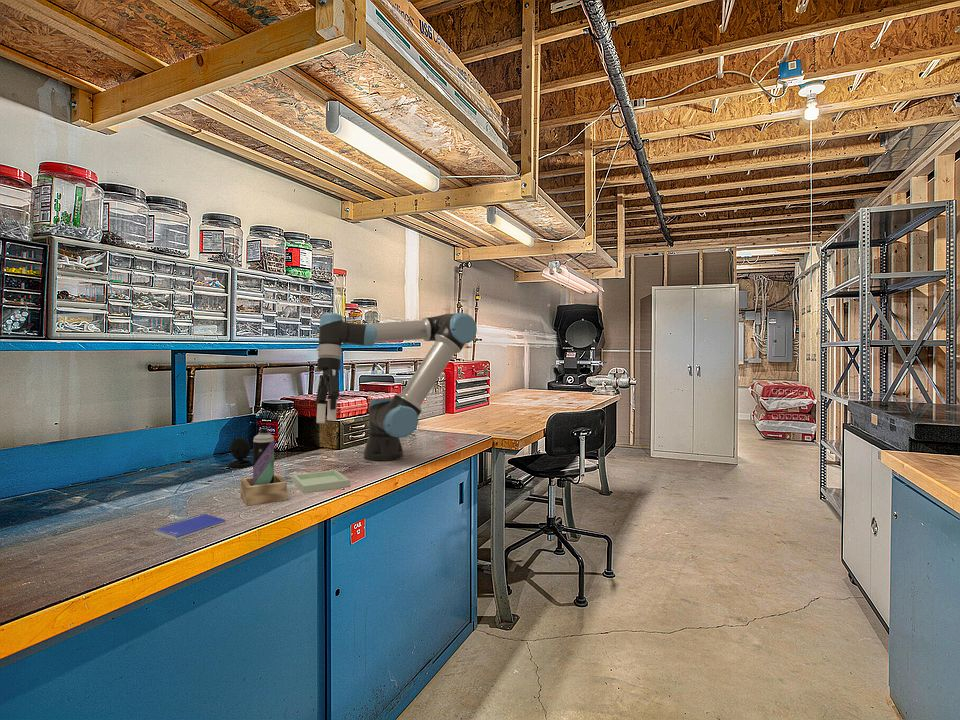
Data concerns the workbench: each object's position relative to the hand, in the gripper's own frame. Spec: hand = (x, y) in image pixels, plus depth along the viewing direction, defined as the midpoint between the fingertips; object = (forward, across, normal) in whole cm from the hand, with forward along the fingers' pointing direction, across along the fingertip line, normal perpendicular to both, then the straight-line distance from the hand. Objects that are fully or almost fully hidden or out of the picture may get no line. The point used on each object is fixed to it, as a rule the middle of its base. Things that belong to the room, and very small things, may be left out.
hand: (325, 421), depth 167 cm
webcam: (+14, -31, -21) cm, 40 cm away
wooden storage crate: (+23, +10, -19) cm, 31 cm away
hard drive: (+29, +26, -37) cm, 54 cm away
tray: (+20, +4, -2) cm, 20 cm away
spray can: (+23, +10, -19) cm, 32 cm away
